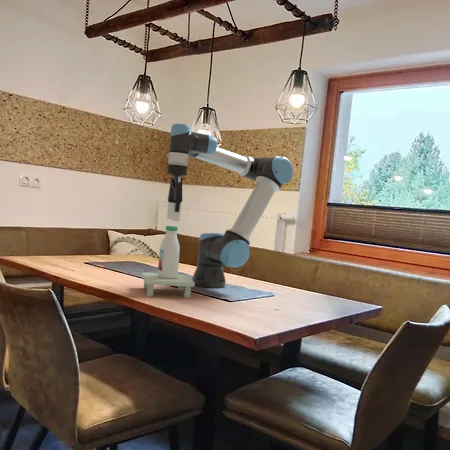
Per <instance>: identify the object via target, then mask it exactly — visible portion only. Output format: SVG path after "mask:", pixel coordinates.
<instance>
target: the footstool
mask: <svg viewBox="0 0 450 450" xmlns="http://www.w3.org/2000/svg"><path fill="white" fill-rule="evenodd" d="M141 277H142V279H143V289H145V290H147V291H146V296H147V297H154V288H155V287H154V286H170V287H171V286H173V287H174V286H175V287H177V290H178V291H183V292H184V294H183V297H184V298H185V299H186V298H189V299H190V298H191V292H192V288H193V287H194V288H195V286H196V285H195V283H194V282H193V281H192V278H190V277H189V276H188V275H187V274H181V273H180V274H179V273H178V276H177V278H175V279H167V278H160V277H158V272H157V273H156V272H141Z"/></svg>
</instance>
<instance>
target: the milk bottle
mask: <svg viewBox="0 0 450 450" xmlns="http://www.w3.org/2000/svg"><path fill="white" fill-rule="evenodd" d="M178 228H179V227H178V226H175V225H166V226H165V235H164V237H163V239H162V241H161V243H160V248H159V254H158V255H159V257H158V264H157V265H158V267H157V273H158V277H160V278H167V279H175V278H177V276H178V274H179V267H180V266H179V265H180V263H179V262H180V249H181V248H180V242H179V239H178V235H177V234H178V230H179V229H178Z"/></svg>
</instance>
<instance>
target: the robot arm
mask: <svg viewBox="0 0 450 450" xmlns="http://www.w3.org/2000/svg"><path fill="white" fill-rule="evenodd" d="M169 136H170V137H169V151H168V154H167V155H166V157H167V158H168V162H167V163H168V165H167V172H166V173H167V174H168V175H172V177H170V180H169V181H170V182H169V190H168V195H167V202H168V203H167V214H166V219H167V220H172V221H174V222H175V221H176V222H180V217H181V207H182V202H183V180H184V177H185V176H187V175H188V166H187V165H189V157H191V158H196V159H199V160H201V161H203V162H206V163H209V164H213V165H215V166H218V167H221V168H223V169H227V170H230V171H232V172H236V173H237V174H238V175H239V176H241V177H243V178H246V179H249V180H251V181H253V182H256V184H255V186H254V188H253V190H252V191H251V193H250V195H249V197H248V198H247V201H246V202H245V204H244V206H243V207H242V209H241V210H240V212H239V214H238V216H237V218H236V219H235V221H234V223H233V225H232V227H231V228H229V229H226V231H225V232H224V233H220V232H219V233H217V232H216V233H215V232H205V233H201V234H200V236H199V241H198V250H197V251H198V252H197V263H196V264H197V265H196V269H195V271H194V273H193V274H192V278H191V280H192V281H193V282H194V283H195V285H194V286H198V287H203V288H212V289H213V288H214V289H219V288H225V287H226V284H227V283H226V277H225V272H224V271H225V270H224V266H225V267H228V268H239V267H242V266H243V265H244V264H245V263H247V261H248V260H249V258H250V247H249V246H250V244H251V241H250V237H251V236H252V233H254V230H255V228H256V226H257V225H258V223H259V221H260V219H261V217H262V215H263V213H264V212H265V210H266V209H267V206H268V205H269V203H270V201H271V199H272V198H273V196H274V194H275V193H278V192H279V191H280V190H281V189H282V186H283V185H284V184H285V185H286V184H288V183H290V182H291V181H292V179H293V176H294V169H293V164H292V162H291V161H290V160H289V159H288V158H287V157H285V156H279V155H277V156H269V157H268V156H267V157H253V156H249V155H240V154H238V153H235V152H231V151H229V150H226V149H224V148H221V147H218V140H217V137H215V136H214V135H210V134H205V133H199V132H194V131H192V128H191V126H190V125H189V124H186V123H174V124H172V125H171V128H170V134H169Z"/></svg>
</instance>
